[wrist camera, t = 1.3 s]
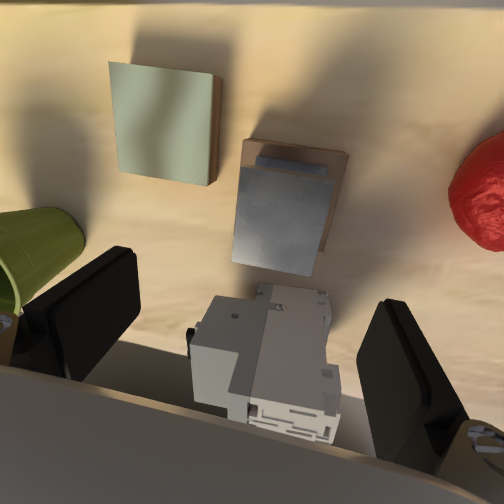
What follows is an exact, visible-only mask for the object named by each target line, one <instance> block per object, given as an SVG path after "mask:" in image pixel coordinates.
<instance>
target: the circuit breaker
mask: <svg viewBox="0 0 504 504" xmlns="http://www.w3.org/2000/svg"><path fill="white" fill-rule="evenodd" d="M331 320H332V312H331V304H330V299H329V292H328V291H325V294H322V293H317V290H313V289H305V288H298V287H290V286H282V285H275V284H274V285H273V284H267V283H259V287H258V290H257V295H256V297H255V300H247V299H239V298H232V297H225V296H217V295H216V296H215V297H214V299H213V300H212V302H211V304H210V306H209V308H208V310H207V312H206V314H205V315H204V317H203V319H202V321H201V322H197V324H196V325H195V329H194V328H188V330H187V332H186V340H187V347H188V351H187V353H188V359H191V365H192V377H193V388H194V400H195V401H196V402H201V403H206V404H211V405H215V406H220V407H225V408H228V419H229V420H233V421H237V422H241V423H245V424H249V425H253V426H257V427H260V428H264V429H268V430H272V431H276V432H280V433H284V434H287V435H291V436H295V437H299V438H303V439H307V440H311V441H314V442H318V443H322V444H326V445H330V446H331V443H333V440H334V436H335V433H336V429H337V426H338V422H339V419H340V415H341V409H340V397H341V382H340V374H339V366H338V365H334V364H328V363H327V360H326V343H327V339H328V334H329V329H330V324H331Z"/></svg>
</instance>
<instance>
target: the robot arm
mask: <svg viewBox="0 0 504 504" xmlns="http://www.w3.org/2000/svg"><path fill="white" fill-rule="evenodd" d="M22 309H23V312H24V314H23V315H21V316H20V317H18V316H17V315H16V314H15V313H12V312H9V311H0V504H504V432H503V431H501V430H500V429H498V428H496V427H494V426H493V425H491V424H488V423H486V422H483V421H480V420H474V419H470V418H469V416H468V415H467V413H466V411H465V409H464V407H463V405H462V403H461V401H460V399H459V398H458V396H457V394H456V392H455V390H454V389H453V387H452V385H451V383H450V381H449V380H448V378H447V376H446V374H445V372H444V371H443V369H442V367H441V365H440V363H439V362H438V360H437V358H436V356H435V355H434V353H433V351H432V349H431V347H430V346H429V344H428V342H427V340H426V338H425V337H424V335H423V333H422V331H421V329H420V328H419V326H418V324H417V322H416V320H415V319H414V317H413V315H412V313H411V311H410V310H409V308H408V306H407V304H406V303H405V302H403V301H398V300H393V299H388V298H387V299H386V300H385V301H384V302H383V301H380V302H379V304H378V306H377V308H376V311H375V313H374V315H373V318H372V320H371V323H370V325H369V327H368V330H367V332H366V335H365V337H364V339H363V342H362V344H361V347H360V349H359V351H358V354H357V359H356V363H357V369H358V373H359V378H360V383H361V387H362V392H363V397H364V401H365V406H366V411H367V415H368V420H369V425H370V429H371V434H372V438H373V443H374V447H375V452H376V457H377V458H373V457H370V456H366V455H363V454H359V453H356V452H352V451H348V450H345V449H341V448H338V447H334V446H330V445H326V444H322V443H318V442H314V441H311V440H307V439H303V438H299V437H295V436H291V435H287V434H284V433H280V432H276V431H272V430H268V429H264V428H260V427H257V426H253V425H249V424H245V423H241V422H237V421H233V420H229V419H225V418H221V417H217V416H213V415H209V414H206V413H202V412H198V411H194V410H190V409H185V408H182V407H178V406H174V405H170V404H166V403H162V402H158V401H153V400H150V399H146V398H142V397H138V396H134V395H130V394H126V393H122V392H118V391H114V390H110V389H106V388H101V387H97V386H93V385H89V384H85V383H81V382H82V381H83V380H84V379H85V377H86V376H87V375H88V374H89V373H90V372H91V370H92V369H93V368H94V367H95V366H96V364H97V363H98V362H99V361H100V360H101V359H102V357H103V356H104V355H105V354H106V353H107V352H108V350H109V349H110V348H111V347H112V346H113V345H114V343H115V342H116V341H117V340H118V339H119V338H120V336H121V335H122V334H123V333H124V332H125V330H126V329H127V328H128V327H129V326H130V325H131V323H132V322H133V321H134V320H135V319H136V318H137V316H138V315H139V313H140V310H141V302H140V291H139V279H138V267H137V256H136V254H135V253H133V251H132V249H131V248H127V247H121V246H114V247H112V248H111V249H109V250H108V251H106V252H105V253H103V254H102V255H100V256H99V257H97V258H96V259H94V260H93V261H91V262H90V263H88V264H86V265H85V266H83V267H82V268H80V269H79V270H77V271H76V272H74V273H73V274H71V275H70V276H68V277H67V278H65V279H64V280H62V281H61V282H59V283H58V284H56V285H55V286H53V287H52V288H50V289H49V290H47V291H46V292H44V293H43V294H41V295H40V296H38V297H37V298H35V299H34V300H32V301H31V302H29V303H28V304H26V305H24V306H23V307H22Z"/></svg>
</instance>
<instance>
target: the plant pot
mask: <svg viewBox="0 0 504 504" xmlns="http://www.w3.org/2000/svg"><path fill="white" fill-rule="evenodd" d="M83 249H84V237H83V234H82V231H81V230H80V229H79V228H78V227H77V226H76V224H75V222H74V220H73V218H71V217H70V216H69V215H68V214H67V213H65V212H63V211H62V210H60V209H57V208H53V207H43V208H35V209H27V210H19V211H11V212H3V213H0V311H9V312H12V313H15V314H16V315H17V316H18V315H19V313H20V311H21V308H22V307H23V306H24V305H25V304H26V303H27V302H28V301H30V300H31V299H32V297H33V296H34V294H35V293H36V292H37V291H39V290H40V289H41V288H42V287H43V286H44V285H46V284H47V283H48V282H49V281H50V280H52V279H53V278H54V277H55V276H56V275H58V274H59V273H60V272H61V271H62V270H63V269H65V268H66V267H67V266H68V265H69V264H71V263H72V262H73V261H74V260H75V259H77V258H78V257H79V256H80V255H81V253H82V251H83Z"/></svg>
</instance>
